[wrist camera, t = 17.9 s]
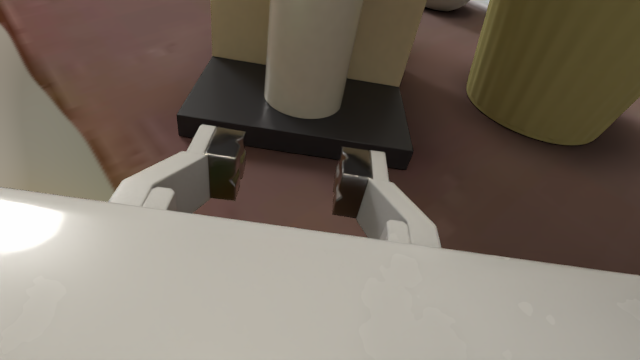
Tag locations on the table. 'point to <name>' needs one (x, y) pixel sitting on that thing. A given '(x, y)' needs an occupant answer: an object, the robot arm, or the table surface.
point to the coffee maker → (297, 133)
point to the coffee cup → (309, 55)
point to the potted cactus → (557, 66)
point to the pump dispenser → (445, 4)
